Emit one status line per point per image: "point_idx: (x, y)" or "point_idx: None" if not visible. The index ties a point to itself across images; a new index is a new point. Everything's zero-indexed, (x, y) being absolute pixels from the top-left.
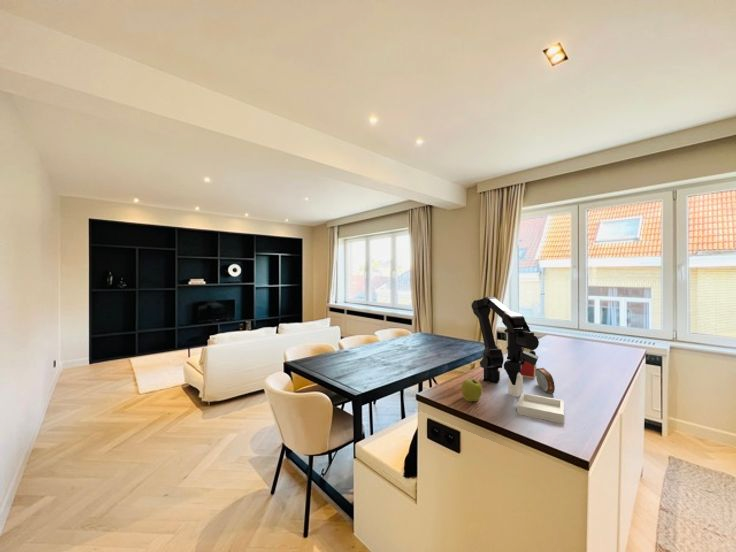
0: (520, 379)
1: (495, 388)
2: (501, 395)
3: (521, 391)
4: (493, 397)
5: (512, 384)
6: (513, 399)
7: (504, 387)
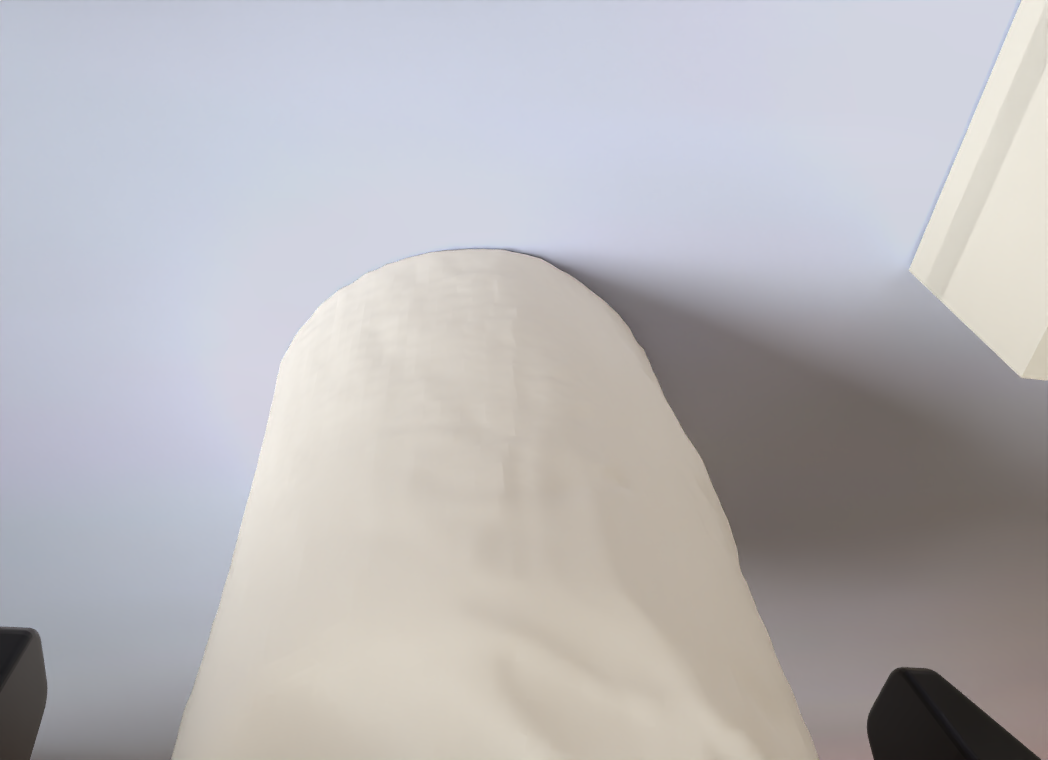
0: (778, 682)
1: None
2: None
3: (609, 338)
4: (843, 726)
5: (896, 731)
6: (879, 438)
7: (106, 625)
